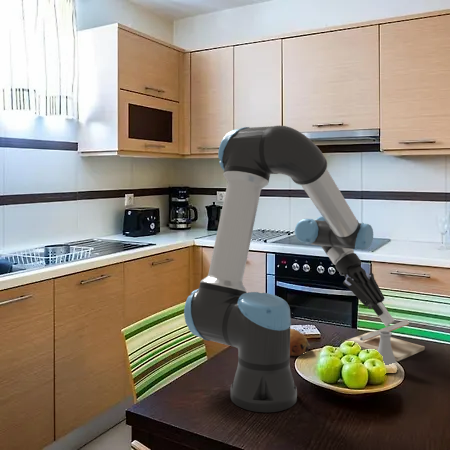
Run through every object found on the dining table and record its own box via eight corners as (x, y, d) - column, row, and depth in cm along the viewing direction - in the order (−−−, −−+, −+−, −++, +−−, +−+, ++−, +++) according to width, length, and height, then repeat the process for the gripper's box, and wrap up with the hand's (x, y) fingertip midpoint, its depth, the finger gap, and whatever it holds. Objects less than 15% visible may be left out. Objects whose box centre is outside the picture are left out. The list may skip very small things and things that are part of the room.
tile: (361, 342, 153) (393, 329, 144) (359, 337, 153) (391, 325, 144) (377, 336, 158) (410, 324, 149) (375, 331, 158) (407, 319, 150)
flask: (395, 365, 138) (396, 328, 137) (401, 375, 131) (403, 337, 129) (367, 364, 138) (368, 327, 137) (372, 374, 131) (373, 336, 130)
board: (397, 361, 140) (397, 357, 140) (343, 344, 154) (343, 340, 154) (424, 349, 149) (424, 346, 149) (371, 334, 163) (371, 331, 163)
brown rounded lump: (294, 355, 155) (286, 329, 157) (319, 349, 147) (310, 322, 149) (271, 363, 149) (263, 336, 150) (295, 357, 141) (287, 329, 143)
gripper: (350, 263, 167) (394, 326, 156) (324, 268, 159) (368, 334, 148) (364, 249, 162) (411, 312, 151) (338, 254, 154) (385, 320, 143)
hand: (390, 323), depth 149 cm, fingers closed
